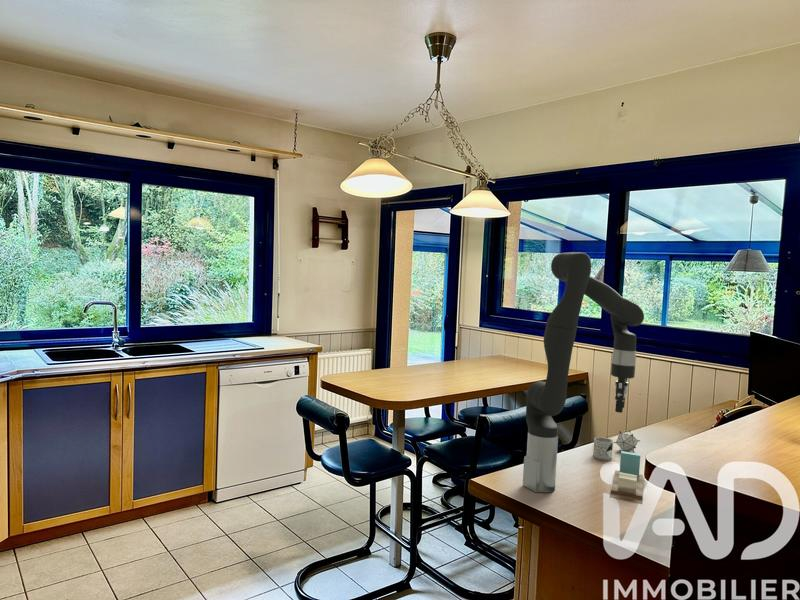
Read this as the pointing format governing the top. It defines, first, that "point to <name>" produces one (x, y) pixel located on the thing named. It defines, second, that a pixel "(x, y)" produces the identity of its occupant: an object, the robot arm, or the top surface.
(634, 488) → the ash cube
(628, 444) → the game die
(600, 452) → the mug
